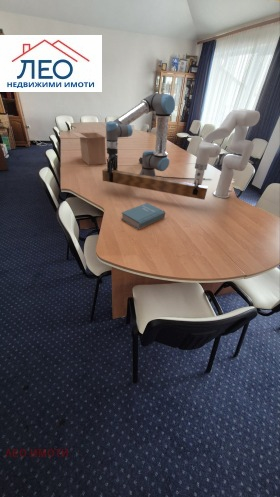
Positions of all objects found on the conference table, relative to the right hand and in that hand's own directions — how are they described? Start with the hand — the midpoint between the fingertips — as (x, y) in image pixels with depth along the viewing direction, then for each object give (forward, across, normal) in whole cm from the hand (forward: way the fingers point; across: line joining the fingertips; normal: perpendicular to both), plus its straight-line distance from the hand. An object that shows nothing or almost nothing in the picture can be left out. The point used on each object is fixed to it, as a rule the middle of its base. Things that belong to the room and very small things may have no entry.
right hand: (195, 192), depth 152 cm
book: (+11, -31, +27) cm, 43 cm away
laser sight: (+12, +88, +60) cm, 107 cm away
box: (+11, +67, +116) cm, 134 cm away
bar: (+2, 0, +31) cm, 31 cm away
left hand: (+1, -1, +62) cm, 62 cm away
